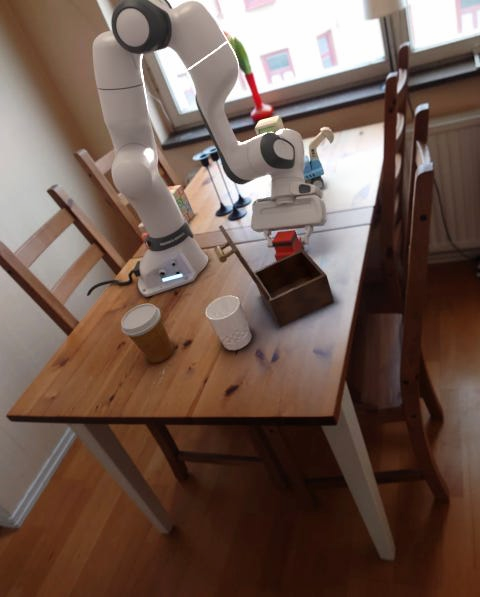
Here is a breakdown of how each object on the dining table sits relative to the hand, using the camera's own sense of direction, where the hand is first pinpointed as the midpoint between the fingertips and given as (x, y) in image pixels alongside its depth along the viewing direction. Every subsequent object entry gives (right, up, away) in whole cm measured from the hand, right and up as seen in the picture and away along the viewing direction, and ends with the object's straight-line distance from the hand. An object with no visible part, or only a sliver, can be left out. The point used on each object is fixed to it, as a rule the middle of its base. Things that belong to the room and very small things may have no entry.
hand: (287, 245), depth 122 cm
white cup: (-13, -23, -15) cm, 31 cm away
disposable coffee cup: (-31, -27, -9) cm, 42 cm away
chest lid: (-11, -6, -20) cm, 23 cm away
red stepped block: (+2, -3, +3) cm, 5 cm away
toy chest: (+1, -14, -11) cm, 18 cm away
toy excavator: (+13, +23, +33) cm, 42 cm away
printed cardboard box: (-36, +9, +42) cm, 56 cm away
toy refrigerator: (+4, +29, +46) cm, 54 cm away
